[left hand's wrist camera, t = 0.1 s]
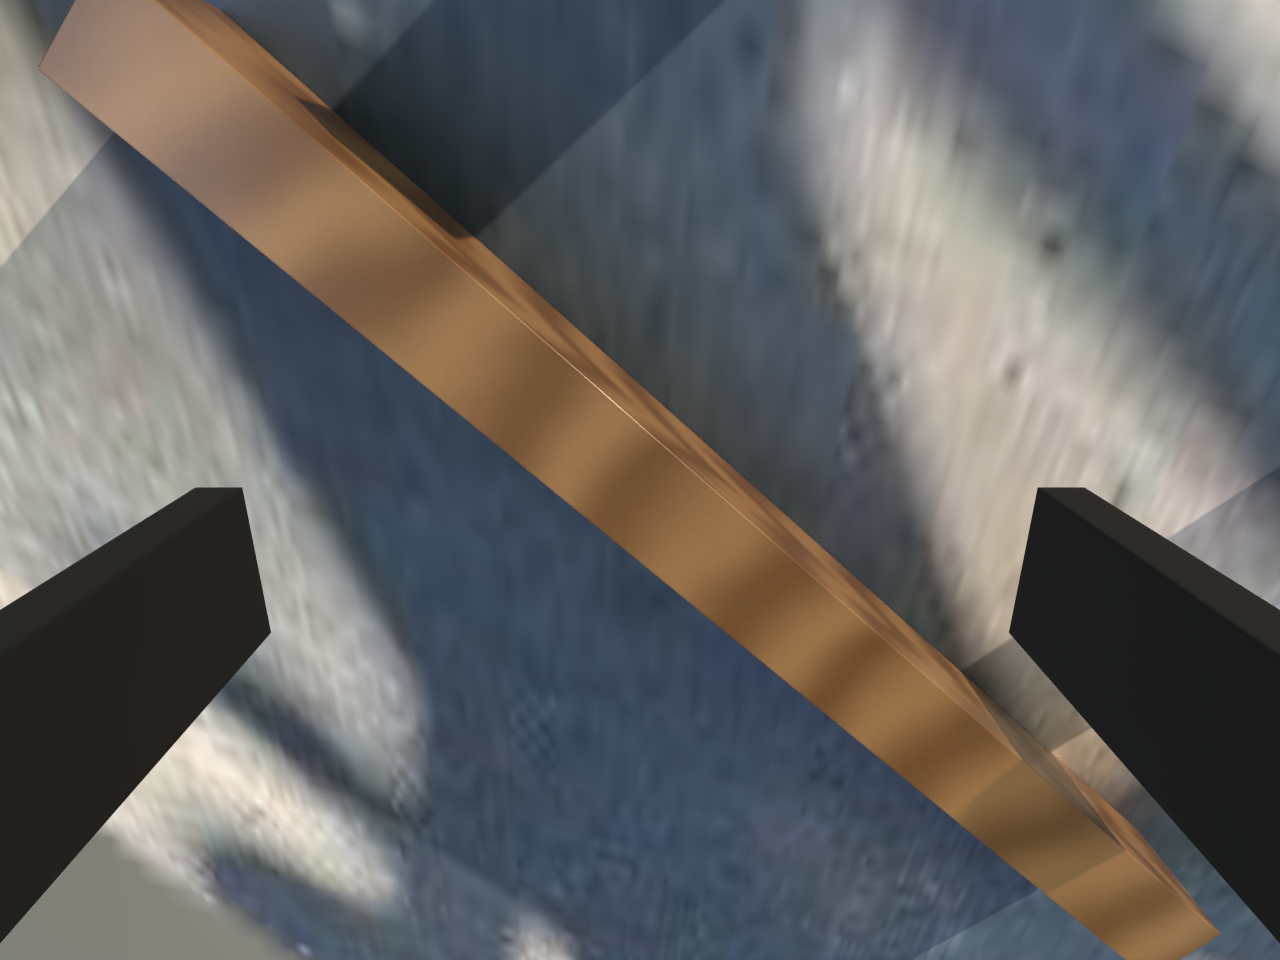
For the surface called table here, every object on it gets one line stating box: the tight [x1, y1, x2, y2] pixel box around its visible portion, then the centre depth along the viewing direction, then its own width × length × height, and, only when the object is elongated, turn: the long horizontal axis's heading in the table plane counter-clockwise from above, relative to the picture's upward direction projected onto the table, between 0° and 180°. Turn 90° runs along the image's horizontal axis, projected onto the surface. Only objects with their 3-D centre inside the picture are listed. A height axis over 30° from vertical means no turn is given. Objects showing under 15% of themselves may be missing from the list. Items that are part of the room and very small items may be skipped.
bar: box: [38, 0, 1220, 960], centre depth 39 cm, size 72×5×8 cm, turn 48°
